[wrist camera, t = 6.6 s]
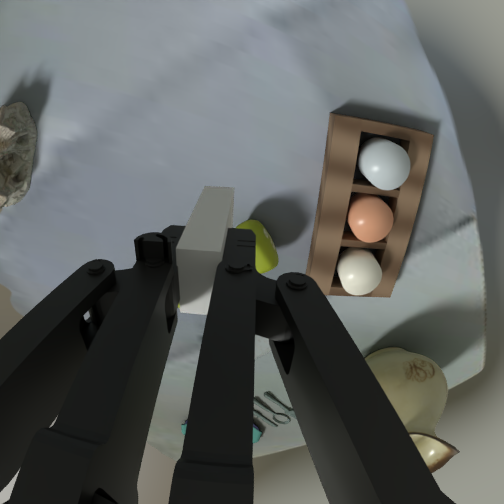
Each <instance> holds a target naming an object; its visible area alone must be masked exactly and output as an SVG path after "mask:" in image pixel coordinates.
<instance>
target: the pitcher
mask: <svg viewBox="0 0 504 504" xmlns="http://www.w3.org/2000/svg"><path fill="white" fill-rule="evenodd" d="M364 359H365V361H366V362H367V364H368V365H369V367H370V369H371V370H372V372H373V374H374V375H375V377H376V379H377V380H378V382H379V384H380V385H381V387H382V389H383V390H384V392H385V394H386V395H387V397H388V399H389V400H390V402H391V404H392V405H393V407H394V409H395V411H396V412H397V414H398V416H399V417H400V419H401V421H402V422H403V424H404V426H405V428H406V429H407V431H408V433H409V435H410V436H411V438H412V440H413V442H414V443H415V445H416V447H417V449H418V450H419V452H420V454H421V456H422V458H423V459H424V461H425V463H426V465H427V466H428V468H429V470H430V472H431V473H433V472H435V471H436V470H438V469H440V468H441V467H443V466H444V465H445V464H446V463H447V462H448V461H449V460H450V459H451V458H452V457H453V456H454V455H456V454H458V453H459V452H460V451H459V450H457V449H456V448H455V447H454V446H452V445H451V444H449V443H447V442H446V441H444V440H442V439H440V438H438V437H437V436H436V434H435V427H436V425H437V423H438V421H439V419H440V417H441V415H442V412H443V410H444V407H445V404H446V400H447V394H448V388H447V381H446V378H445V375H444V373H443V372H442V370H441V368H440V367H439V366H438V365H437V364H436V363H435V362H434V361H433V360H431V359H430V358H428V357H426V356H424V355H421V354H417V353H412V352H407V351H406V350H404V349H402V348H398V347H389V348H384V349H381V350H378V351H376V352H373V353H372V354H370V355H368V356H367V357H366V358H364Z"/></svg>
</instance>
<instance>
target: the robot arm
mask: <svg viewBox="0 0 504 504" xmlns="http://www.w3.org/2000/svg"><path fill="white" fill-rule="evenodd" d="M233 204H234V188H230V187H212V186H205V187H204V189H203V191H202V193H201V195H200V197H199V199H198V202H197V204H196V206H195V208H194V210H193V212H192V214H191V216H190V218H189V221H188V223H187V225H186V226H176V225H170V226H169V227H167V228H166V229H164V230H163V231H162V233H159V232H152V233H146V234H142V235H140V236H138V237H137V238H136V239H135V240H134V244H135V252H136V260H137V261H136V263H135V265H134V266H133V268H131V269H125V270H116V271H115V268H114V265H113V263H112V262H110V261H108V260H103V259H98V260H97V259H96V260H93V261H90V262H87V263H86V264H84V265H82V266H81V267H80V268H79V269H78V270H76V271H75V272H74V273H73V274H72V275H70V276H69V277H68V278H67V279H66V280H65V281H63V282H62V283H61V284H60V285H59V286H58V287H56V288H55V289H54V290H53V291H52V292H51V293H50V294H49V295H47V296H46V297H45V298H44V299H43V300H42V301H41V302H40V303H38V304H37V305H36V306H35V307H34V308H33V309H32V310H31V311H30V312H29V313H27V314H26V315H25V316H24V317H23V318H22V319H21V320H20V321H19V322H18V323H17V324H16V325H15V326H14V327H13V328H12V329H11V330H9V331H8V332H7V333H6V334H5V335H4V336H3V337H2V338H1V339H0V492H1V491H2V490H3V489H4V487H6V486H7V485H8V484H9V482H10V481H11V480H12V478H13V477H14V476H15V475H16V473H17V472H18V470H19V469H20V471H19V473H18V476H17V479H16V482H15V485H14V488H13V490H12V493H11V496H10V499H9V500H8V501H7V502H5V503H3V504H138V492H137V481H138V475H139V471H140V467H141V462H142V457H143V453H144V449H145V444H146V440H147V436H148V432H149V427H150V423H151V419H152V415H153V411H154V407H155V403H156V399H157V395H158V391H159V387H160V384H161V380H162V376H163V372H164V368H165V365H166V361H167V357H168V354H169V350H170V346H171V343H172V339H173V336H174V332H175V328H176V325H177V308H178V305H180V312H182V313H192V314H204V315H207V318H206V323H205V328H204V334H203V339H202V344H201V349H200V354H199V360H198V365H197V370H196V376H195V381H194V387H193V392H192V398H191V404H190V409H189V415H188V421H187V427H186V433H185V439H184V445H183V450H182V455H181V458H180V459H179V460H178V461H177V463H176V465H175V469H174V473H173V479H172V484H171V491H170V497H169V504H253V492H254V471H253V465H252V452H253V409H254V363H255V335H258V336H261V337H264V338H268V339H269V345H270V348H271V350H272V353H273V356H274V359H275V361H276V364H277V367H278V369H279V372H280V375H281V378H282V380H283V383H284V386H285V388H286V391H287V394H288V396H289V399H290V402H291V404H292V407H293V410H294V412H295V415H296V418H297V420H298V423H299V426H300V428H301V431H302V434H303V436H304V439H305V441H306V444H307V447H308V449H309V452H310V454H311V457H312V460H313V462H314V465H315V467H316V470H317V473H318V475H319V478H320V481H321V483H322V486H323V488H324V491H325V493H326V496H327V499H328V501H329V503H330V504H456V503H454V502H453V501H452V500H451V499H450V498H449V497H447V496H446V495H445V494H444V493H443V492H442V491H441V490H440V488H439V487H438V485H437V483H436V481H435V479H434V478H433V476H432V474H431V472H430V470H429V468H428V466H427V465H426V463H425V461H424V459H423V458H422V456H421V454H420V452H419V450H418V449H417V447H416V445H415V443H414V442H413V440H412V438H411V436H410V435H409V433H408V431H407V429H406V428H405V426H404V424H403V422H402V421H401V419H400V417H399V416H398V414H397V412H396V411H395V409H394V407H393V405H392V404H391V402H390V400H389V399H388V397H387V395H386V394H385V392H384V390H383V389H382V387H381V385H380V384H379V382H378V380H377V379H376V377H375V375H374V374H373V372H372V370H371V369H370V367H369V365H368V364H367V362H366V361H365V359H364V357H363V356H362V354H361V352H360V351H359V349H358V348H357V346H356V344H355V343H354V341H353V339H352V338H351V336H350V335H349V333H348V331H347V330H346V328H345V327H344V325H343V323H342V322H341V320H340V319H339V317H338V316H337V314H336V312H335V311H334V309H333V308H332V306H331V305H330V303H329V301H328V300H327V298H326V297H325V295H324V294H323V292H322V291H321V289H320V287H319V286H318V284H317V283H316V281H315V280H314V279H313V278H311V277H309V276H308V275H306V274H302V273H298V272H290V273H285V274H283V275H281V276H279V278H278V279H277V281H276V280H272V279H269V278H266V277H265V276H263V275H261V274H260V273H259V272H258V271H257V269H256V266H255V263H256V234H255V233H254V232H253V231H252V230H251V229H239V228H232V226H233ZM88 310H89V314H90V317H89V318H88V319H87V320H85V319H84V316H83V315H84V314H85V313H86V312H87V311H88ZM58 414H59V415H58ZM57 416H58V417H57ZM56 417H57V419H56V422H55V423H54V425H53V426H52V427H50V425H51V424H52V422H53V421H54V420H55V418H56ZM49 427H50V428H49Z"/></svg>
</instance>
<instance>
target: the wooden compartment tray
mask: <svg viewBox="0 0 504 504" xmlns="http://www.w3.org/2000/svg"><path fill="white" fill-rule="evenodd" d="M361 131H363V132H369V133H374V134H379V135H385V136H390V137H395V138H400V139H401V140H400V146H401V147H402V148H403V149H404V150H405V151H406V152H407V154H408V156H409V159H410V172H409V175H408V177H407V179H406V181H405V182H404V183H403V184H402V185H401V186H399V187H398V188H396V189H393V190H382V189H379V188H377V187H376V186H374V185H373V184H372V183H371V182H370V181H369V180H363V179H355V178H354V172H355V166H356V160H357V154H358V147H359V141H360V134H361ZM433 137H434V135H432V134H429V133H427V132H424V131H421V130H416V129H412V128H408V127H404V126H399V125H395V124H390V123H385V122H380V121H375V120H370V119H365V118H359V117H353V116H347V115H341V114H335V113H330V117H329V125H328V133H327V141H326V149H325V156H324V164H323V171H322V178H321V185H320V191H319V198H318V204H317V211H316V217H315V223H314V229H313V235H312V241H311V247H310V253H309V258H308V264H307V269H306V275H308V276H309V277H311V278H313V279H314V280H315V281H316V283H317V284H318V286H319V287H320V289H321V291H322V292H323V294H324V295H336V296H362V297H390V296H391V294H392V291H393V288H394V285H395V282H396V279H397V276H398V273H399V270H400V267H401V264H402V261H403V258H404V255H405V252H406V248H407V245H408V242H409V238H410V235H411V232H412V228H413V224H414V221H415V217H416V213H417V210H418V206H419V202H420V198H421V194H422V190H423V186H424V181H425V177H426V172H427V168H428V163H429V158H430V153H431V148H432V143H433ZM351 191H352V192H360V193H368V194H376V195H383V196H389V200H388V207H389V208H390V209H391V211H392V213H393V218H394V220H393V226H392V228H391V230H390V232H389V233H388V234H387V236H385V237H384V238H383V239H381V240H379V241H377V242H371V243H368V242H364V241H361V240H360V239H358V238H357V237H356V236H355V234H354V233H353V231H343V230H344V225H345V220H346V215H347V210H348V205H349V200H350V194H351ZM340 246H348V247H361V248H374V249H376V252H375V256H374V257H375V259H376V261H377V262H378V264H379V266H380V268H381V270H382V278H381V281H380V283H379V285H378V286H377V287H376V288H375V289H374V290H373V291H371V292H369V293H367V294H364V295H352V294H350V293H348V292H347V291H346V290H345V289H344V288H343V286H342V283H341V280H340V277H336V276H333V275H334V271H335V267H336V262H337V258H338V253H339V249H340Z"/></svg>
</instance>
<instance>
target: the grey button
mask: <svg viewBox="0 0 504 504" xmlns="http://www.w3.org/2000/svg"><path fill="white" fill-rule="evenodd" d="M357 165H358V168H359V170H360V172H361V173H362V174H363V175H364V176H365V177H366V178H367V179H368V180H369V181H370V182H371V183H372V184H373V185H374V186H376V187H377V188H379V189H382V190H393V189H396V188H398V187H399V186H401V185H402V184H403V183H404V182H405V181H406V179H407V177H408V175H409V172H410V159H409V156H408V154H407V152H406V151H405V150H404V149H403V148H402V147H401V146H399V145H397V144H395V143H393V142H391V141H389V140H387V139H385V138H382V137H375V138H371V139H369V140H367V141H366V142H364V143H363V145H362V146H361V147H360V149H359V151H358V154H357Z"/></svg>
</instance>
